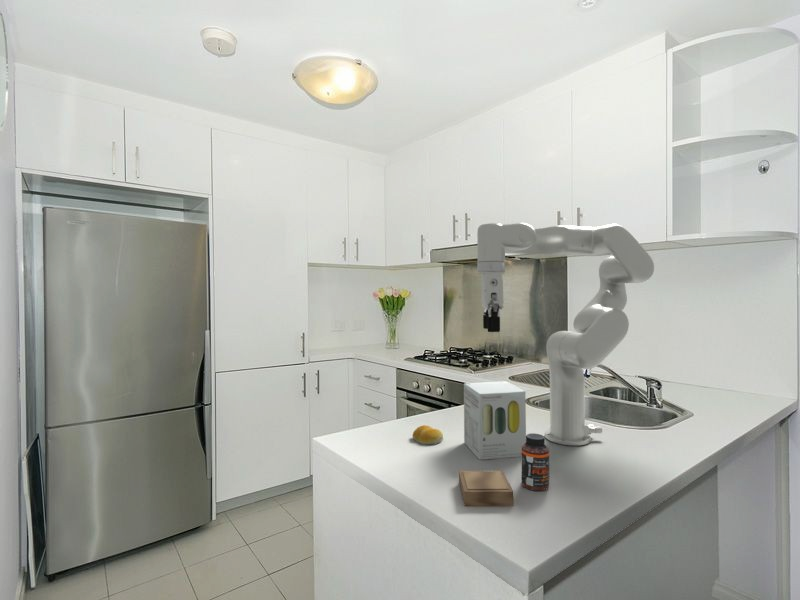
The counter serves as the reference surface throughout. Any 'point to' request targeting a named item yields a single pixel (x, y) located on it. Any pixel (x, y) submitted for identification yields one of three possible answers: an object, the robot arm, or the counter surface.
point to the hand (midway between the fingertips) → (491, 330)
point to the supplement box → (494, 419)
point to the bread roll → (427, 435)
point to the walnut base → (485, 488)
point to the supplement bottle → (535, 463)
